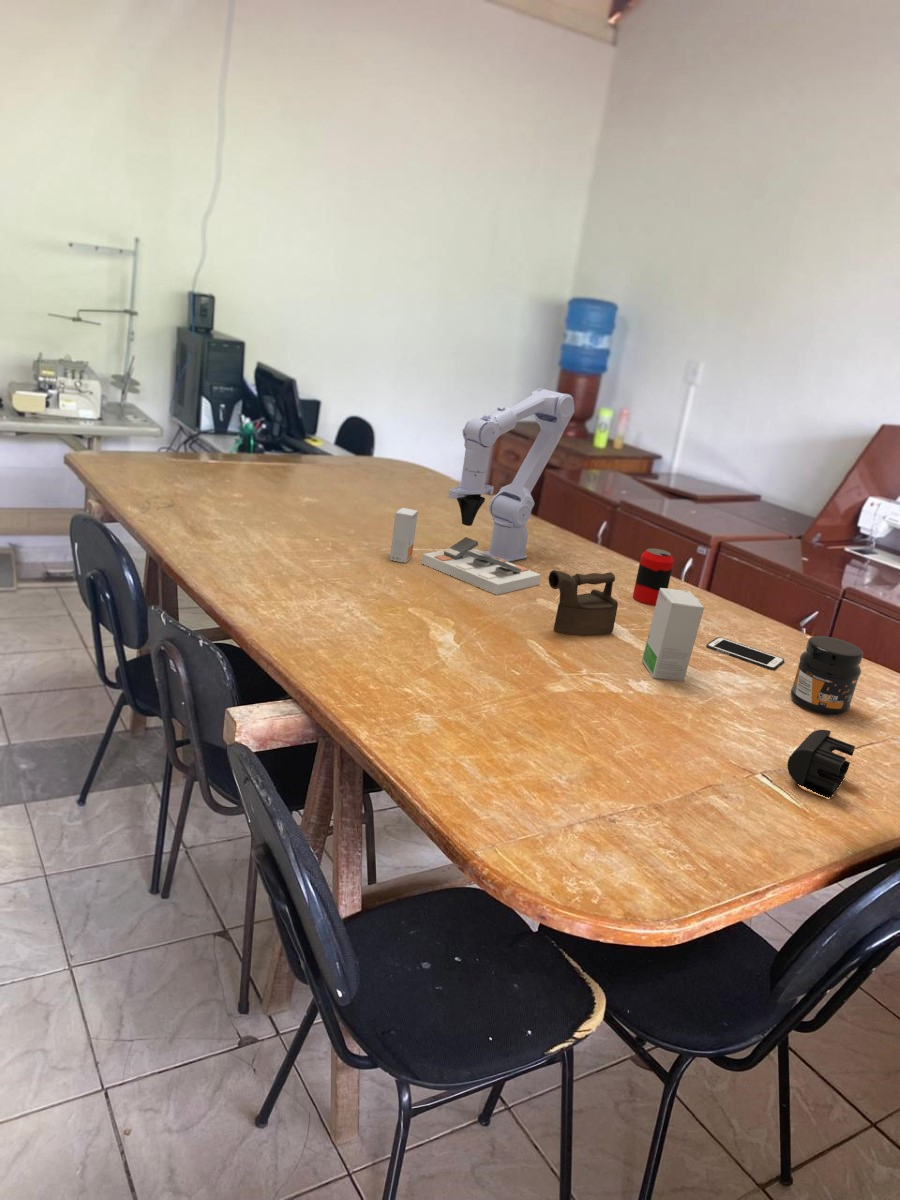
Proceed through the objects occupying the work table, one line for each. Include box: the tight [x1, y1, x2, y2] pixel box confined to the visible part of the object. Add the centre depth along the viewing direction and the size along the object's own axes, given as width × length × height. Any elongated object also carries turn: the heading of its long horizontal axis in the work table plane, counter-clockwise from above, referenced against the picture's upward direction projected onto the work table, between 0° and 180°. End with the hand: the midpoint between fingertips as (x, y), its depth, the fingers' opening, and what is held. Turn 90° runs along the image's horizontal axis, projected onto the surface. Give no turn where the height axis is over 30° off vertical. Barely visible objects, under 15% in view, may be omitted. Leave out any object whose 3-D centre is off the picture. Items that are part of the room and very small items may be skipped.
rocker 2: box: [466, 550, 499, 561], centre depth 213 cm, size 8×4×1 cm, turn 138°
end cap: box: [787, 729, 856, 799], centre depth 137 cm, size 10×7×7 cm
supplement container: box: [790, 635, 864, 717], centre depth 164 cm, size 10×10×12 cm
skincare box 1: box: [389, 507, 419, 564], centre depth 216 cm, size 6×4×12 cm
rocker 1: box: [444, 536, 479, 560], centre depth 217 cm, size 8×4×1 cm, turn 137°
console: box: [421, 548, 542, 596], centre depth 214 cm, size 16×24×3 cm, turn 47°
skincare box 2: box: [641, 588, 705, 682], centre depth 169 cm, size 8×7×16 cm
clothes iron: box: [548, 569, 619, 636], centre depth 185 cm, size 8×16×13 cm, turn 120°
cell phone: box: [705, 636, 785, 671], centre depth 187 cm, size 8×15×1 cm, turn 54°
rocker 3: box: [489, 557, 521, 573], centre depth 209 cm, size 8×4×1 cm, turn 138°
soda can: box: [632, 548, 675, 606], centre depth 211 cm, size 8×8×12 cm
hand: (466, 524), depth 218 cm, fingers closed
